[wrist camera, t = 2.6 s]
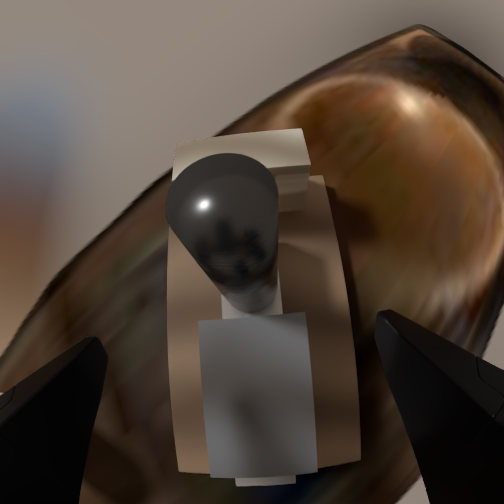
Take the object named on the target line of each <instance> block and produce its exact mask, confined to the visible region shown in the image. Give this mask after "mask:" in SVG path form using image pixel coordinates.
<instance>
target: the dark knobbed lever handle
mask: <svg viewBox="0 0 504 504" xmlns="http://www.w3.org/2000/svg"><path fill="white" fill-rule="evenodd" d="M165 212H166V218H167V221H168V223H169V226H170V228H171V229H172V231H173V232H174V233H175V235H176V236H177V237H178V239H179V240H180V241H181V243H182V244H183V245H184V247H185V248H186V249H187V251H188V252H189V253H190V254H191V256H192V257H193V258H194V260H195V261H196V262H197V263H198V265H199V266H200V267H201V269H202V270H203V271H204V272H205V274H206V275H207V276H208V277H209V279H210V280H211V281H212V282H213V284H214V285H215V286H216V287H217V289H218V290H219V291H220V292H221V299H222V319H233V318H246V317H258V316H269V315H279V314H283V311H282V301H281V292H280V282H279V273H278V218H279V196H278V188H277V184H276V181H275V179H274V177H273V175H272V174H271V172H270V171H269V170H268V169H267V168H266V167H265V166H264V165H263V164H262V163H260V162H259V161H257V160H255V159H254V158H251V157H249V156H246V155H242V154H236V153H219V154H214V155H210V156H207V157H204V158H202V159H199V160H197V161H195V162H194V163H192V164H191V165H189V166H188V167H186V168H185V169H184V170H183V171H182V172H181V173H180V174H179V175H178V176H177V177H176V179H175V180H174V182H173V183H172V185H171V187H170V189H169V191H168V194H167V197H166V203H165ZM235 480H236V486H264V485H280V484H291V483H296V478H295V475H289V476H278V477H261V478H235Z"/></svg>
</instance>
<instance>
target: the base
mask: <svg viewBox="0 0 504 504" xmlns="http://www.w3.org/2000/svg"><path fill="white" fill-rule="evenodd" d="M219 153H236V154H242V155H246V156H249V157H251V158H254V159H255V160H257V161H259V162H260V163H262V164H263V165H264V166H265V167H266V168H267V169H268V170H269V171H270V172H271V174H272V175H273V177H274V179H275V181H276V184H277V188H278V196H279V218H278V273H279V282H280V292H281V301H282V311H283V314H279V315H269V316H258V317H246V318H233V319H222V299H221V292H220V291H219V290H218V289H217V287H216V286H215V285H214V284H213V282H212V281H211V280H210V279H209V277H208V276H207V275H206V274H205V272H204V271H203V270H202V269H201V267H200V266H199V265H198V263H197V262H196V261H195V260H194V258H193V257H192V256H191V254H190V253H189V252H188V251H187V249H186V248H185V247H184V245H183V244H182V243H181V241H180V240H179V239H178V237H177V236H176V235H175V233H174V232H173V231H172V229H171V228H170V226H169V242H168V270H167V335H168V362H169V380H170V395H171V407H172V418H173V428H174V437H175V446H176V453H177V461H178V468H179V471H181V472H192V473H206V474H210V475H211V477H213V478H261V477H278V476H289V475H299V474H307V473H314V472H318V471H317V468H322V467H328V466H334V465H339V464H344V463H349V462H354V461H358V460H361V438H360V413H359V396H358V383H357V371H356V361H355V351H354V342H353V334H352V326H351V318H350V311H349V304H348V298H347V291H346V285H345V279H344V273H343V268H342V262H341V257H340V251H339V246H338V241H337V236H336V231H335V227H334V222H333V217H332V213H331V208H330V204H329V200H328V195H327V191H326V187H325V183H324V179H323V175H320V176H309V174H310V167H311V163H310V159H309V155H308V151H307V147H306V144H305V140H304V136H303V132H302V129H287V130H274V131H262V132H252V133H243V134H235V135H227V136H220V137H213V138H206V139H200V140H194V141H188V142H182V143H177V144H176V148H175V157H174V166H173V176H172V181H173V182H174V180H175V179H176V177H177V176H178V175H179V174H180V173H181V172H182V171H183V170H184V169H185V168H186V167H188V166H189V165H191V164H192V163H194V162H195V161H197V160H199V159H202V158H204V157H207V156H210V155H214V154H219Z"/></svg>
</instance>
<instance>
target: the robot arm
mask: <svg viewBox="0 0 504 504" xmlns="http://www.w3.org/2000/svg"><path fill="white" fill-rule="evenodd" d="M374 337H375V341H376V345H377V348H378V351H379V355H380V358H381V362H382V365H383V369H384V372H385V375H386V379H387V381H388V384H389V387H390V389H391V391H392V394H393V396H394V399H395V402H396V404H397V407H398V409H399V412H400V414H401V417H402V420H403V422H404V425H405V428H406V430H407V433H408V436H409V439H410V442H411V445H412V447H413V450H414V453H415V456H416V459H417V462H418V465H419V468H420V472H421V475H422V478H423V481H424V484H425V487H426V492H427V495H428V499H429V502H430V504H504V370H502V369H500V368H498V367H496V366H494V365H492V364H490V363H489V362H487V361H485V360H483V359H481V358H479V357H478V356H475V355H474V354H472V353H470V352H468V351H467V350H465V349H463V348H461V347H459V346H458V345H456V344H454V343H452V342H450V341H448V340H447V339H445V338H443V337H441V336H439V335H437V334H436V333H434V332H432V331H430V330H428V329H426V328H425V327H423V326H421V325H419V324H417V323H415V322H413V321H412V320H410V319H408V318H406V317H404V316H402V315H400V314H398V313H397V312H395V311H393V310H390V309H389V310H383V311H379V312H378V314H377V318H376V325H375V331H374ZM107 365H108V355H107V353H106V351H105V349H104V347H103V345H102V343H101V341H100V339H99V338H98V337H96V336H88V337H85V338H84V339H82V340H81V341H79V342H78V343H76V344H75V345H73V346H72V347H70V348H69V349H67V350H66V351H64V352H63V353H62V354H60V355H59V356H57V357H56V358H54V359H53V360H51V361H50V362H48V363H47V364H45V365H44V366H42V367H41V368H39V369H38V370H36V371H35V372H34V373H32V374H31V375H29V376H28V377H26V378H25V379H23V380H22V381H20V382H19V383H18V384H16V386H13V387H12V388H10V389H9V390H7V391H6V392H4V393H3V394H2V395H0V504H79V498H80V497H79V496H80V490H81V484H82V478H83V473H84V468H85V463H86V458H87V453H88V448H89V444H90V440H91V435H92V431H93V427H94V423H95V419H96V415H97V411H98V408H99V404H100V400H101V396H102V391H103V385H104V380H105V375H106V370H107Z"/></svg>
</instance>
